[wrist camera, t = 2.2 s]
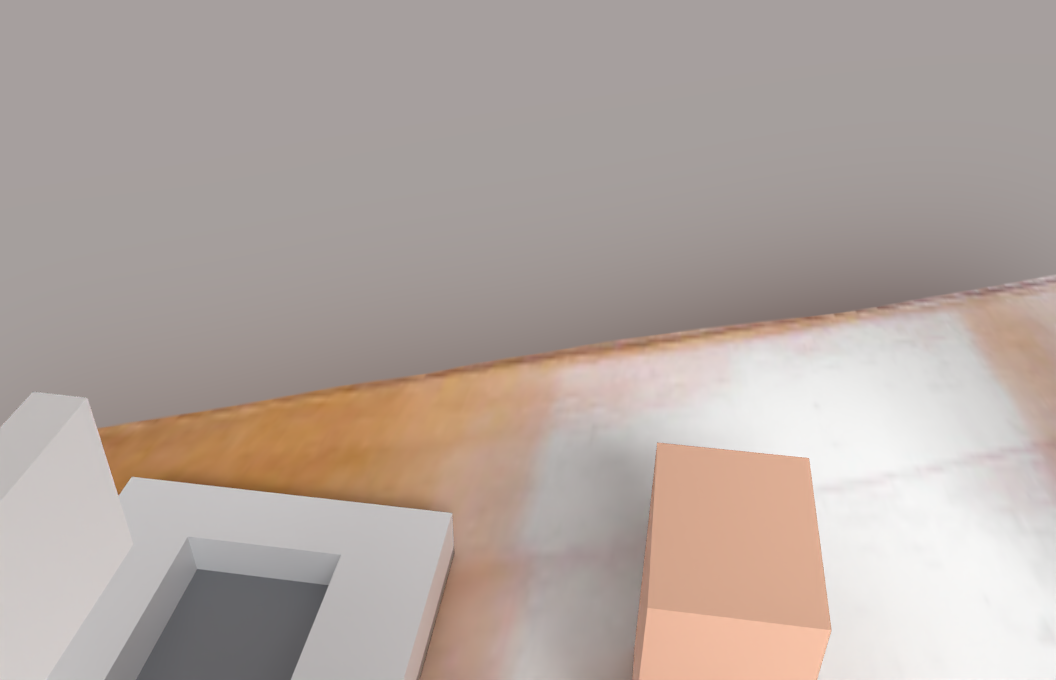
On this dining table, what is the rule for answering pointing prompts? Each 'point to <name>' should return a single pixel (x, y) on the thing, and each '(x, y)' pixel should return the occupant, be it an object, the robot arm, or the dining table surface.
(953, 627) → the dining table surface
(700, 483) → the peach block
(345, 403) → the dining table surface
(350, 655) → the pocket plate
